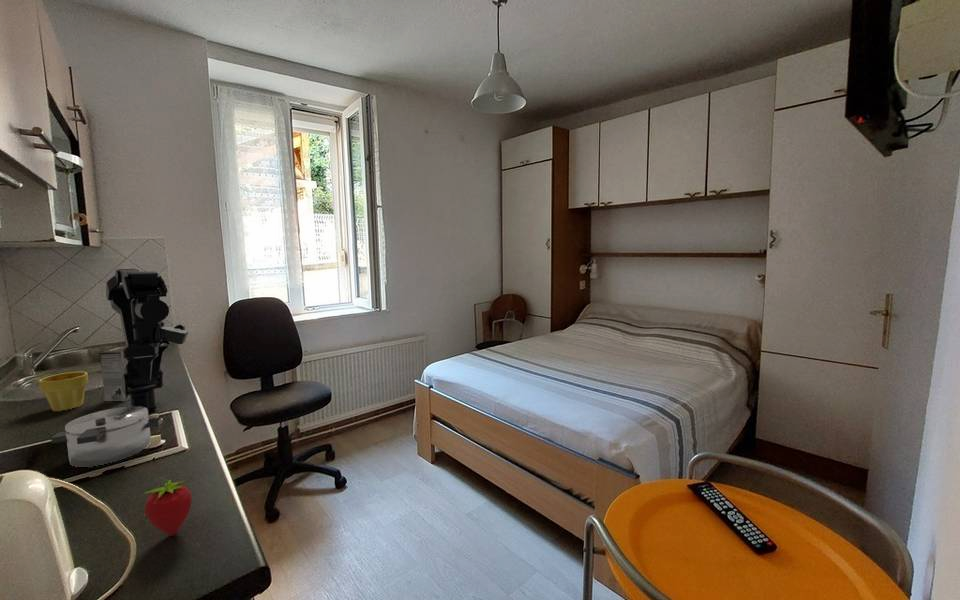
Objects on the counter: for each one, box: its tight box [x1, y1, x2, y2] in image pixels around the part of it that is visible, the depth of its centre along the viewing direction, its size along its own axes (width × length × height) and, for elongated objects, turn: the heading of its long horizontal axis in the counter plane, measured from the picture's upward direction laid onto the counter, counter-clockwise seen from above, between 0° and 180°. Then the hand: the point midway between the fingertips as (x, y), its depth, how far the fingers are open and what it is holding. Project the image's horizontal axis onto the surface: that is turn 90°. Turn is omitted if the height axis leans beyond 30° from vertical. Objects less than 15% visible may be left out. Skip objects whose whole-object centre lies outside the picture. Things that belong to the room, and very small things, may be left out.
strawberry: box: [143, 476, 193, 537], centre depth 64 cm, size 6×8×10 cm
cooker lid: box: [64, 405, 149, 444], centre depth 91 cm, size 19×14×2 cm
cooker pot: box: [50, 415, 163, 468], centre depth 93 cm, size 14×19×7 cm
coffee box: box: [99, 345, 131, 402], centre depth 131 cm, size 9×6×16 cm
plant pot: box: [38, 371, 89, 412], centre depth 123 cm, size 10×10×10 cm
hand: (152, 376), depth 109 cm, fingers open, 9 cm apart
